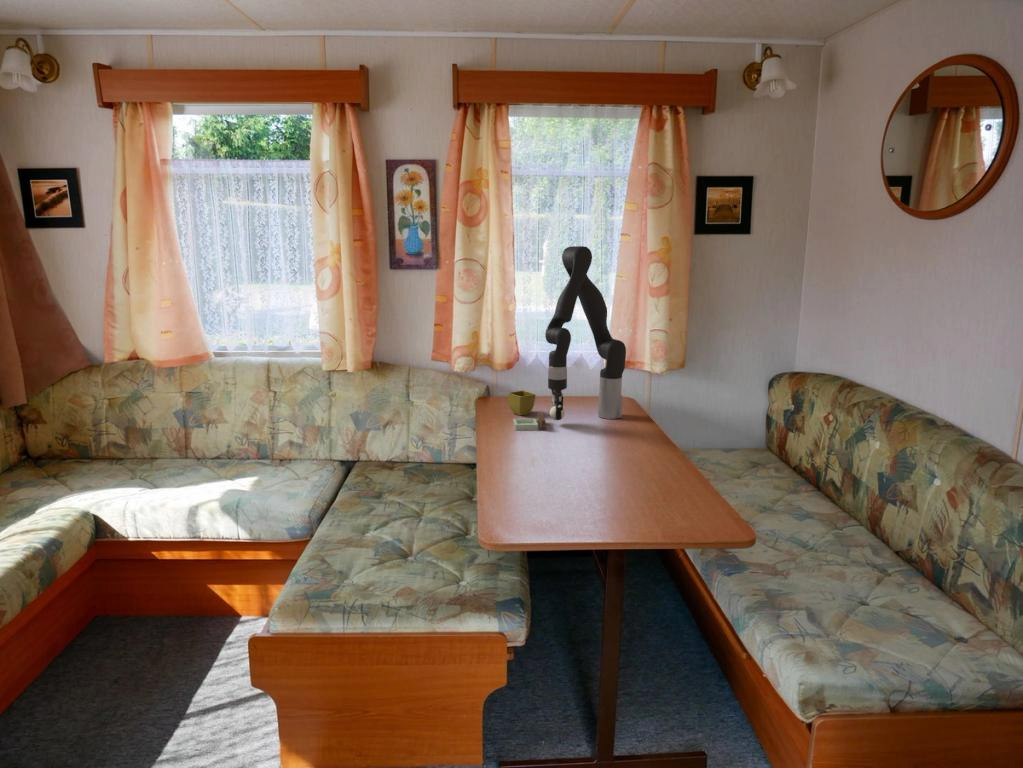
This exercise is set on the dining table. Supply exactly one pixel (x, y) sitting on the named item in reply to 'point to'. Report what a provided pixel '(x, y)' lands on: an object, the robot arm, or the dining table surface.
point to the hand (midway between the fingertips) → (557, 417)
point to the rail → (541, 422)
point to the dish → (525, 424)
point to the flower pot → (521, 402)
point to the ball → (553, 413)
